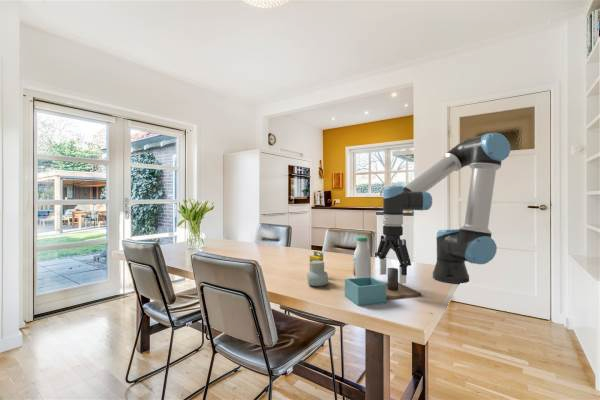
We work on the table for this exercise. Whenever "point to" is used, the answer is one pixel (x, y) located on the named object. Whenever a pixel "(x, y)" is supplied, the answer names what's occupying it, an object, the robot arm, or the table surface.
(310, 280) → the air freshener
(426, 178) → the robot arm
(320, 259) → the crayon box
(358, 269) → the milk bottle
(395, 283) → the lid
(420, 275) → the table surface
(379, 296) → the teal storage bin
